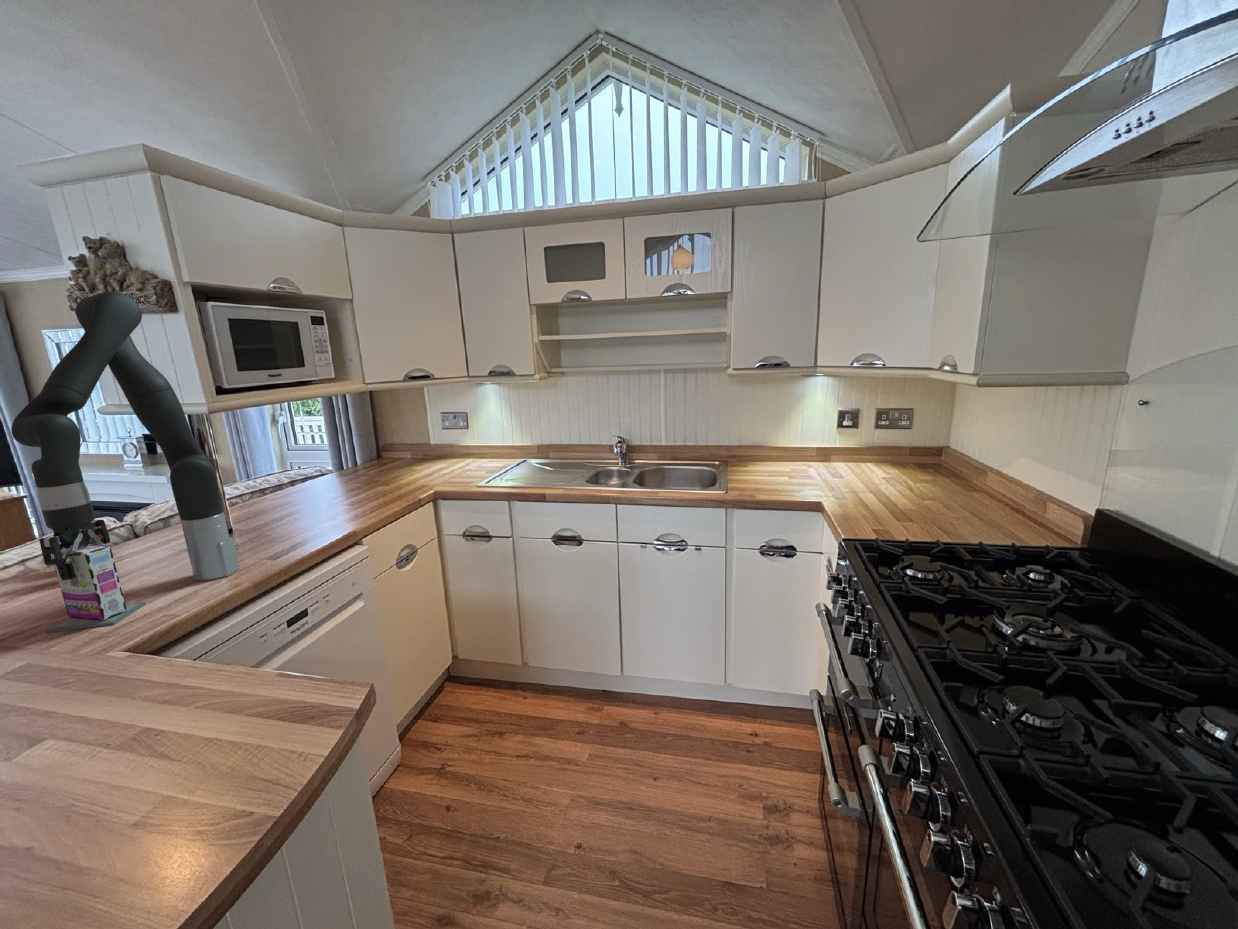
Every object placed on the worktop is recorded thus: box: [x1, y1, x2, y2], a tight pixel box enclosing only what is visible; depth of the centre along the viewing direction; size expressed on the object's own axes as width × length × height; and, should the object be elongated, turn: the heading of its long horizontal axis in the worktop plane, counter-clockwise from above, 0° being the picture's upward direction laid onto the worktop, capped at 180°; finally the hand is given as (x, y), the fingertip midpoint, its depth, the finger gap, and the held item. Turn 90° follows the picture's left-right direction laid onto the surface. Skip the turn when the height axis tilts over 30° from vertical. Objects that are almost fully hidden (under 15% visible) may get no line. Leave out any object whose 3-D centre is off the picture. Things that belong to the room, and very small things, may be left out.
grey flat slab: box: [44, 601, 147, 633], centre depth 116 cm, size 13×10×1 cm
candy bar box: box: [51, 545, 127, 620], centre depth 114 cm, size 11×5×16 cm, turn 78°
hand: (85, 571), depth 113 cm, fingers open, 8 cm apart
